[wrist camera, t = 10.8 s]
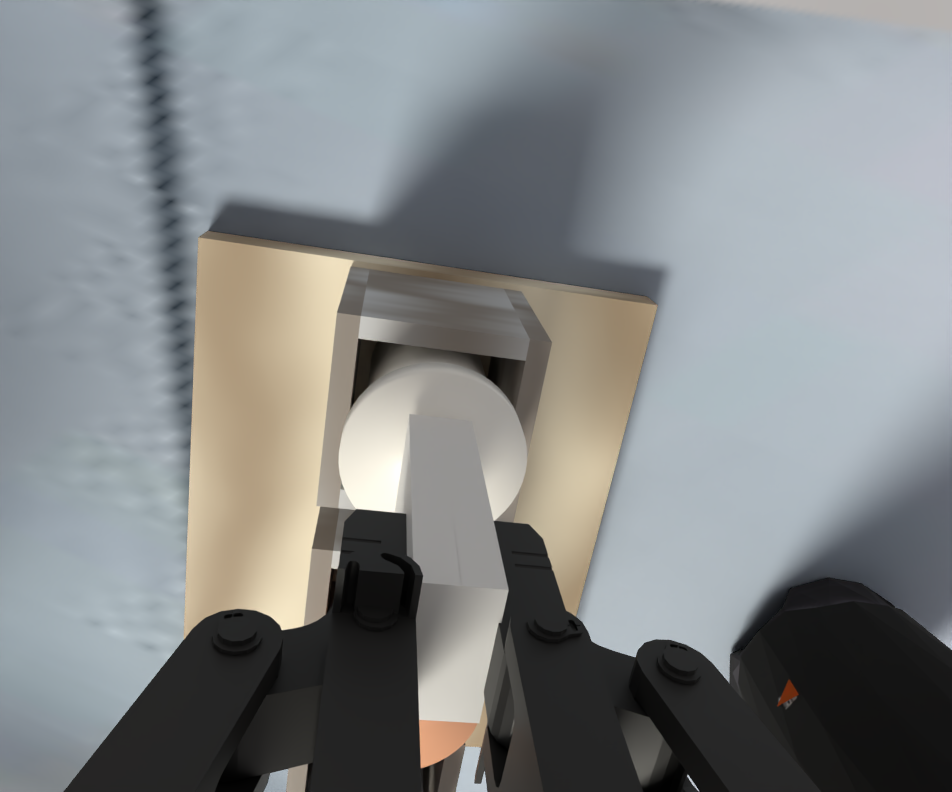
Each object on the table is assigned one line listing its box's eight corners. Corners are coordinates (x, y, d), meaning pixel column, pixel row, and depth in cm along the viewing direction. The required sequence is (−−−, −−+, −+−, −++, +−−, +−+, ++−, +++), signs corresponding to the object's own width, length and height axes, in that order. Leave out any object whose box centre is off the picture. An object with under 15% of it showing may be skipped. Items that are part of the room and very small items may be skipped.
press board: (188, 707, 31) (135, 859, 25) (207, 230, 24) (141, 277, 18) (536, 729, 34) (566, 872, 27) (647, 296, 26) (721, 358, 20)
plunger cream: (347, 423, 25) (329, 533, 19) (363, 289, 23) (349, 361, 17) (482, 439, 26) (508, 550, 19) (507, 310, 24) (544, 386, 18)
